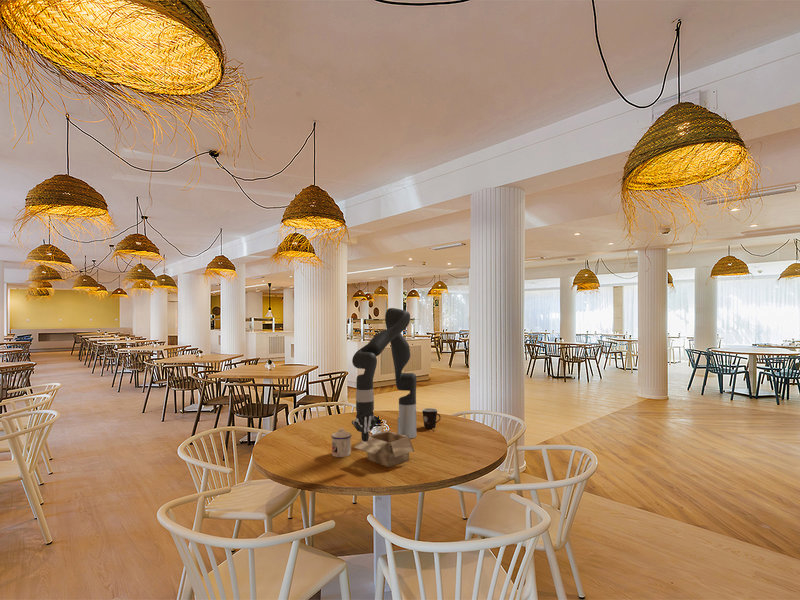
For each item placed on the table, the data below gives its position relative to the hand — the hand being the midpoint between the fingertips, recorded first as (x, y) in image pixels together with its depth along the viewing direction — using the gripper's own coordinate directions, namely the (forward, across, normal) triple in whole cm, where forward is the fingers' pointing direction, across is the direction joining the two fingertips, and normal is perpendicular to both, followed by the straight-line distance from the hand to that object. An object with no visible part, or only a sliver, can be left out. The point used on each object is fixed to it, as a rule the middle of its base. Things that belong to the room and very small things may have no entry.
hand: (365, 441), depth 176 cm
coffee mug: (+12, -67, -22) cm, 71 cm away
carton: (+11, -15, 0) cm, 18 cm away
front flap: (+1, -6, 0) cm, 7 cm away
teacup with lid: (+11, -3, -20) cm, 23 cm away
